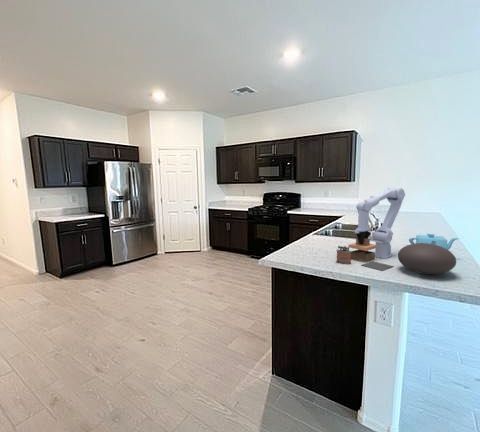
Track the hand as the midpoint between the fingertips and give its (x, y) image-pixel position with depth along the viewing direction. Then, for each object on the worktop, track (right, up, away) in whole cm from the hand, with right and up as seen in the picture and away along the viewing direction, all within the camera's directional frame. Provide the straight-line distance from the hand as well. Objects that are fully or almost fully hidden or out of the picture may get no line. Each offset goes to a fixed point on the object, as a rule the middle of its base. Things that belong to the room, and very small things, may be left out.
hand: (362, 243), depth 161 cm
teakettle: (+43, -9, +2) cm, 44 cm away
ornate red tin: (-14, -11, -6) cm, 19 cm away
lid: (0, -2, 0) cm, 2 cm away
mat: (+2, -11, -13) cm, 18 cm away
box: (0, -10, +1) cm, 10 cm away
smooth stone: (+20, -12, -25) cm, 35 cm away
